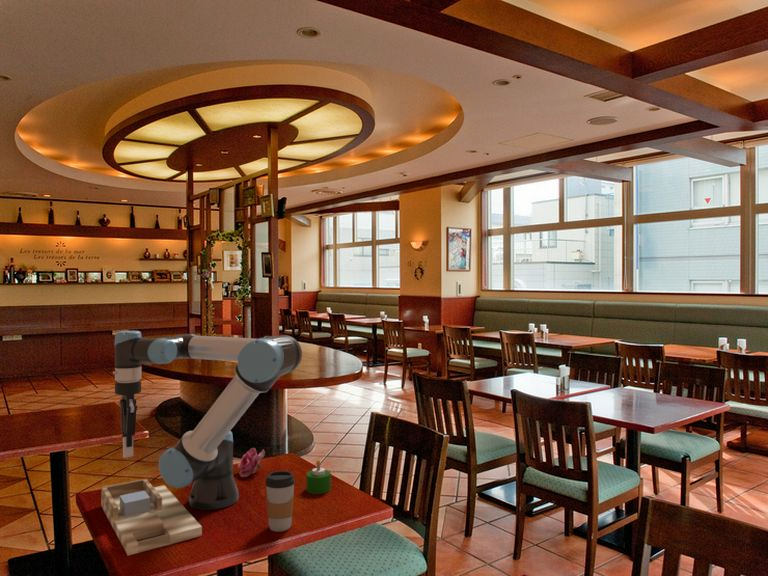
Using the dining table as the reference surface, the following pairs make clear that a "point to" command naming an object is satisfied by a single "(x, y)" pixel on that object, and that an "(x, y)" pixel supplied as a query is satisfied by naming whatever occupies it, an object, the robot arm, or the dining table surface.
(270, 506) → the coffee cup
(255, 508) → the dining table surface
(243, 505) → the dining table surface
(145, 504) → the slate block
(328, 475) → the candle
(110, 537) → the dining table surface
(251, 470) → the flower
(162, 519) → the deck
